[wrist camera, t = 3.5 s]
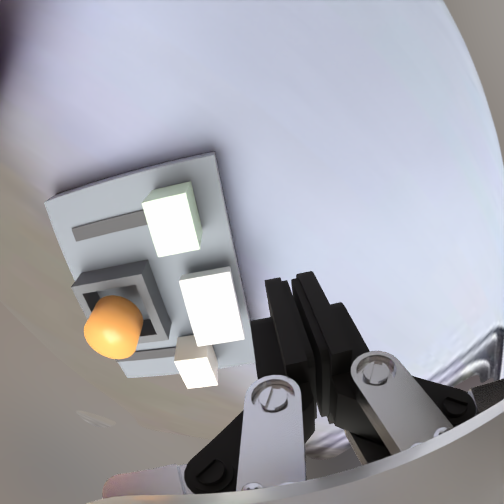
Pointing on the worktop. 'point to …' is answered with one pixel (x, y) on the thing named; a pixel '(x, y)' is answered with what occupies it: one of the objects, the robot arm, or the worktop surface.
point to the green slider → (173, 219)
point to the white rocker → (212, 306)
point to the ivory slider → (196, 363)
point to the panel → (148, 257)
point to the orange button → (114, 327)
